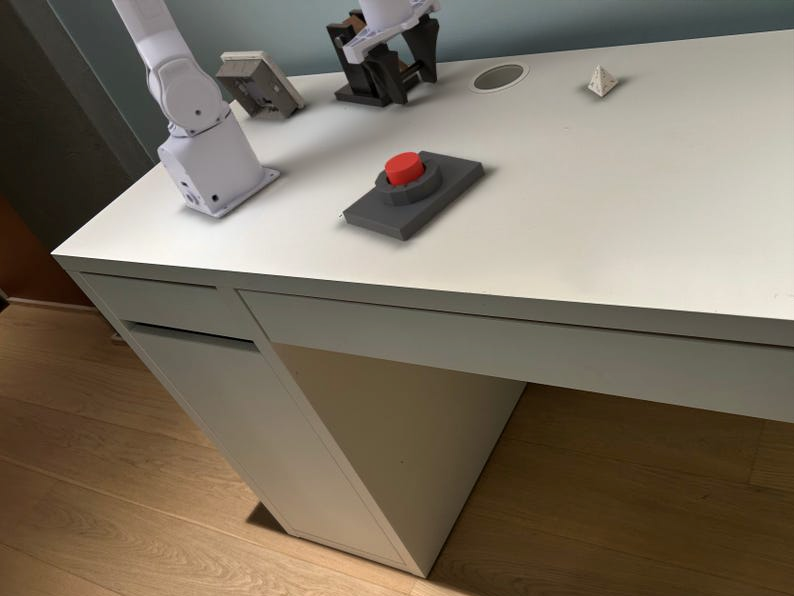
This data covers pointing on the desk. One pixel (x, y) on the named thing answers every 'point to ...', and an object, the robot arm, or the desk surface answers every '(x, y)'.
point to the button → (404, 168)
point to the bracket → (360, 70)
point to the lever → (404, 69)
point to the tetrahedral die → (602, 81)
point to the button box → (413, 196)
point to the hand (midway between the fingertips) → (415, 92)
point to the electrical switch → (258, 84)
